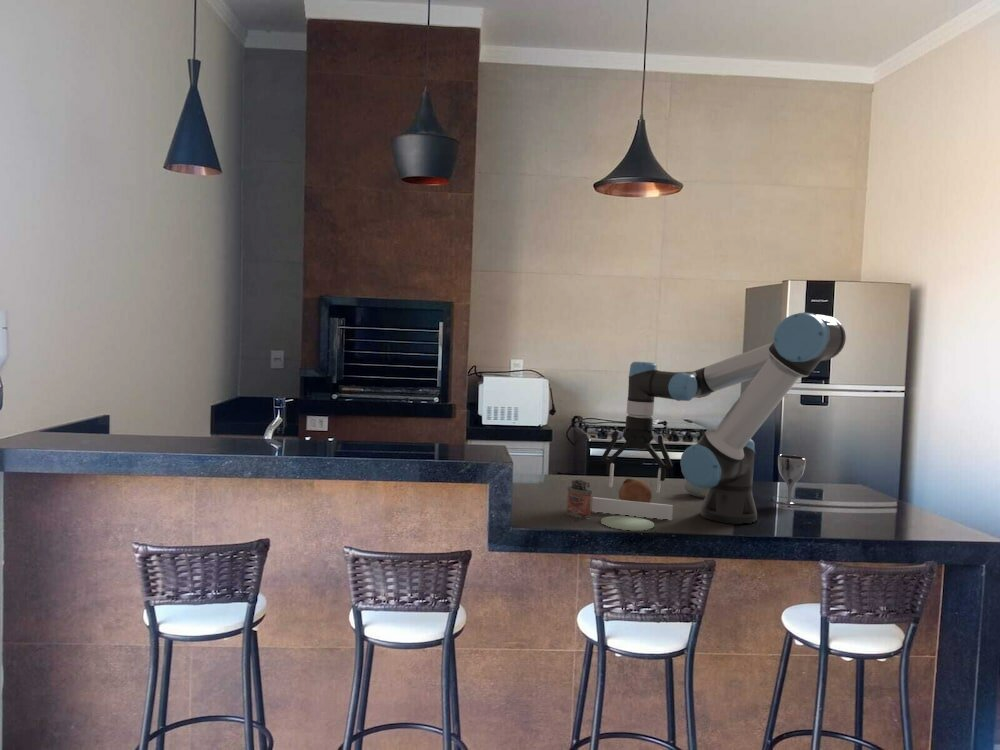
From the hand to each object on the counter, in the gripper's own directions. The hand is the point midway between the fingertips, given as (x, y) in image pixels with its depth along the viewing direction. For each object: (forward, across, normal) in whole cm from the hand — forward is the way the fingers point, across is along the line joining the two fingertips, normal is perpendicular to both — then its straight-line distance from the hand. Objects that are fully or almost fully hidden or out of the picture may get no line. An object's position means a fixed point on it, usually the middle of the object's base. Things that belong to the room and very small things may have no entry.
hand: (634, 489), depth 227 cm
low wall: (+6, 0, +8) cm, 10 cm away
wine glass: (+6, -44, -28) cm, 53 cm away
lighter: (+6, +13, +15) cm, 21 cm away
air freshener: (+6, -18, -29) cm, 35 cm away
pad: (+6, 0, +18) cm, 19 cm away
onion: (+6, 0, 0) cm, 6 cm away
